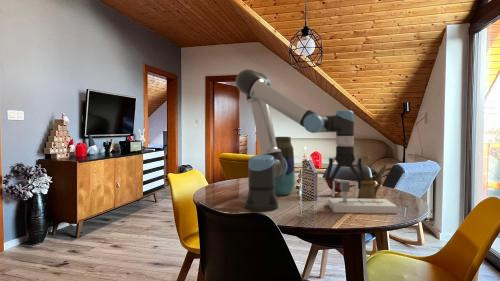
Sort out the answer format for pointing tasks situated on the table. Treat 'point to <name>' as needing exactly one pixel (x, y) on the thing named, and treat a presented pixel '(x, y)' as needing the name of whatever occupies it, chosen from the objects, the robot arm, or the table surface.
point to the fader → (344, 189)
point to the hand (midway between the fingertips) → (344, 196)
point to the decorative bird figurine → (336, 186)
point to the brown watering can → (370, 186)
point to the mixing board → (362, 205)
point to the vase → (288, 179)
